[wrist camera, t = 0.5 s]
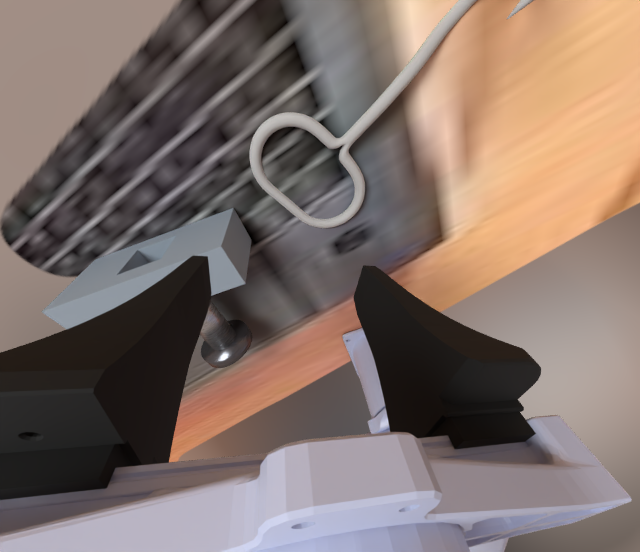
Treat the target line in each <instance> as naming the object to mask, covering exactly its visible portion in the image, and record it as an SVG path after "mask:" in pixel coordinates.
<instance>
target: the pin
mask: <svg viewBox="0 0 640 552" xmlns="http://www.w3.org/2000/svg"><path fill="white" fill-rule="evenodd" d="M200 336H201V337H202V338H203V339H204V340H205V341H204V342H203V345H202V348H201V355H202V357H203V359H204V360H205V361H206V362H208V363H209V364H210V365H211V366H212V367H215V368H223V367H227V366H229V365H231V364H233V363H235V362H236V361H238V360H239V359H240V358H241V357H242V356H243V355H244V354H245V353H246V352H247V350H248V349H249V347H250V345H251V342H252V333H251V331H250V329H249V328H248V327H247V325H246V324H245V323H244V322H243V321H240V320H231V321H227V320H226V319H225V318H224V317H223V315H222V314H221V313H220V312H219V310H218V309H217V308H216V307H215V305H214V304H213V303H212V302H211V301H210V304H209V308H208V312H207V315H206V318H205V321H204V324H203V327H202V329H201V332H200Z"/></svg>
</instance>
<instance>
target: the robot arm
mask: <svg viewBox="0 0 640 552" xmlns="http://www.w3.org/2000/svg"><path fill="white" fill-rule="evenodd" d="M211 293H212V292H211V282H210V272H209V263H208V256H194V255H193V256H191V257H190V258H189V259H187V260H186V261H185V262H184V263H182V264H181V265H180V266H178V267H177V268H176V269H175V270H173V271H172V272H171V273H169V274H168V275H167V276H165V277H164V278H163V279H161V280H160V281H158V282H157V283H155V284H154V285H152V286H151V287H149V288H148V289H146V290H145V291H143V292H142V293H140V294H139V295H137V296H135V297H134V298H132V299H130V300H128V301H126V302H125V303H123V304H121V305H119V306H117V307H115V308H113V309H111V310H109V311H107V312H105V313H103V314H101V315H99V316H97V317H94V318H92V319H90V320H88V321H86V322H84V323H81V324H79V325H76V326H74V327H72V328H69V329H67V330H64V331H62V332H59V333H57V334H54V335H51V336H49V337H46V338H43V339H41V340H37V341H35V342H32V343H29V344H26V345H23V346H20V347H17V348H14V349H11V350H8V351H5V352H1V353H0V552H504V551H505V547H506V544H507V541H508V538H509V537H513V536H517V535H521V534H526V533H530V532H535V531H539V530H543V529H548V528H552V527H557V526H562V525H566V524H571V523H574V522H576V521H580V520H582V519H584V518H587V517H590V516H593V515H596V514H598V513H601V512H604V511H606V510H609V509H612V508H614V507H617V506H620V505H623V504H625V503H628V502H630V501H631V497H630V496H629V495H628V494H627V492H626V491H625V490H624V489H623V488H622V487H621V486H620V484H619V483H618V482H617V481H616V480H615V479H614V478H613V476H612V475H611V474H610V473H609V472H608V471H607V470H606V468H605V467H604V466H603V465H602V464H601V463H600V462H599V460H598V459H597V458H596V457H595V456H594V455H593V454H592V453H591V451H590V450H589V449H588V448H587V447H586V446H585V444H584V443H583V442H582V441H581V440H580V439H579V438H578V437H577V436H576V434H575V433H574V432H573V431H572V430H571V428H570V427H569V426H568V425H567V424H566V423H565V422H564V421H563V419H562V418H561V417H560V416H558V415H550V416H539V417H533V418H530V419H527V420H525V418H524V417H523V416H522V415H521V413H520V412H521V411H523V410H524V408H523V406H522V405H521V403H520V402H519V401H518V398H520V397H521V396H522V395H523V394H524V393H525V392H526V391H527V390H528V389H529V388H531V386H533V385H534V384H535V383H536V381H537V380H538V378H539V376H540V374H541V368H540V366H539V365H538V364H537V363H536V362H535V361H534V359H533V358H532V357H531V356H530V355H529V354H528V353H527V352H526V351H525V350H523V349H522V348H519V347H516V346H514V345H511V344H508V343H505V342H503V341H499V340H497V339H494V338H492V337H489V336H487V335H484V334H482V333H480V332H477V331H475V330H473V329H471V328H469V327H466V326H464V325H462V324H460V323H458V322H456V321H454V320H452V319H450V318H449V317H447V316H445V315H443V314H441V313H440V312H438V311H436V310H435V309H433V308H431V307H430V306H428V305H427V304H425V303H424V302H422V301H421V300H419V299H418V298H416V297H415V296H414V295H412V294H411V293H410V292H408V291H407V290H406V289H404V288H403V287H402V286H400V285H399V284H398V283H397V282H395V281H394V280H393V279H391V278H390V277H389V276H388V275H386V274H385V273H384V272H383V271H381V270H380V269H378V268H377V267H375V266H363V268H362V272H361V275H360V278H359V281H358V285H357V288H356V291H355V295H354V301H355V306H356V311H357V315H358V318H359V320H360V323H361V326H362V328H361V329H358V330H355V331H352V332H349V333H346V334H344V335H343V336H342V337H343V340H344V343H345V345H346V348H347V350H348V352H349V355H350V357H351V360H352V362H353V365H354V367H355V369H356V372H357V374H358V376H359V377H360V380H361V384H362V387H363V390H364V393H365V396H366V400H367V403H368V407H369V410H370V413H371V417H372V419H371V420H369V421H368V424H369V428H370V432H369V433H367V434H364V435H353V436H341V437H331V438H319V439H308V440H302V441H298V442H292V443H288V444H285V445H283V446H281V447H279V448H277V449H275V450H272V451H271V452H270V453H263V454H252V455H242V456H232V457H221V458H212V459H201V460H191V461H181V462H170V463H169V457H170V452H171V446H172V441H173V436H174V431H175V426H176V421H177V416H178V411H179V407H180V402H181V398H182V393H183V389H184V384H185V380H186V376H187V372H188V368H189V364H190V361H191V357H192V354H193V351H194V349H195V346H196V343H197V340H198V338H199V335H200V332H201V329H202V327H203V324H204V321H205V318H206V315H207V312H208V308H209V304H210V298H211Z"/></svg>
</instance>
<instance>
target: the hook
mask: <svg viewBox="0 0 640 552" xmlns="http://www.w3.org/2000/svg"><path fill="white" fill-rule="evenodd" d="M476 1H477V0H459V1H458V2H457V3H456V4H455V5H454V6H453V7H452V8H451V10H450V11H449V12H448V13H447V14H446V15H445V16H444V17H443V18H442V19H441V21H440V22H439V23H438V24H437V26H436V27H435V28H434V29H433V31H432V32H431V33H430V35H429V36H428V37H427V39H426V40H425V42H424V43H423V44H422V46H421V47H420V49H419V50H418V51H417V53H416V54H415V55H414V57H413V58H412V59H411V61H410V62H409V63H408V64H407V66H406V67H405V68H404V69H403V70H402V72H401V73H400V74H399V75H398V76H397V77H396V79H395V80H394V81H393V82H392V83H391V84H390V86H389V87H388V88H387V89H386V90H385V91H384V92H383V94H382V95H381V96H380V97H379V98H378V99H377V100H376V101H375V102H374V104H373V105H372V106H371V107H370V108H369V109H368V110H367V111H366V112H365V113H364V114H363V115H362V116H361V118H360V119H359V120H358V121H357V122H356V123H355V124H354V125H353V126H352V127H351V128H350V129H349V130H348V131H347V132H346V133H345V134H344V135H343V136H342V137H341V138H335V137H334V136H333V135H332V134H331V133H330V132H329V131H328V130H327V129H326V128H325V127H324V126H322V125H321V124H320V123H319V122H317V121H316V120H314V119H313V118H311V117H309V116H307V115H304V114H300V113H295V112H286V113H281V114H277V115H275V116H273V117H270V118H269V119H268V120H266V121H265V122H264V123H263V124H262V125H261V126H260V127H259V128H258V129H257V131H256V133H255V134H254V136H253V139H252V142H251V146H250V164H251V169H252V172H253V174H254V177H255V178H256V180H257V182H258V183H259V184H260V186H261V187H262V188H263V189H264V190H265V191H266V192H267V193H268V194H269V195H271V196H272V197H273V198H274V199H275V200H277V201H278V202H279V203H280V204H281V205H283V206H284V207H285V208H286V209H288V210H289V211H290V212H291V213H292V214H294V215H295V216H296V217H297V218H298V219H300V220H301V221H303V222H304V223H306V224H308V225H310V226H313V227H317V228H331V227H336V226H339V225H341V224H343V223H345V222H347V221H348V220H350V219H351V218H352V217H353V216H354V215H355V214H356V213H357V211H358V210H359V209H360V207H361V205H362V203H363V199H364V195H365V181H364V177H363V175H362V172H361V170H360V169H359V167H358V165H357V164H356V162H355V161H354V160H353V158H352V157H351V156H350V154H349V148H350V146H351V145H352V144H353V143H354V142H355V141H356V140H357V139H358V138H359V137H360V136H361V135H362V134H363V133H364V132H365V131H366V130H367V129H368V128H369V127H370V125H371V124H372V123H373V122H374V121H375V120H376V119H377V118H378V117H379V116H380V115H381V114H382V113H383V112H384V111H385V110H386V109H387V108H388V107H389V105H390V104H391V103H392V102H393V101H394V100H395V99H396V98H397V97H398V95H399V94H400V93H401V92H402V91H403V90H404V89H405V88H406V86H407V85H408V84H409V83H410V82H411V81H412V80H413V78H414V77H415V76H416V75H417V74H418V72H419V71H420V70H421V69H422V67H423V66H424V65H425V63H426V62H427V61H428V59H429V58H430V57H431V55H432V54H433V52H434V51H435V50H436V48H437V47H438V45H439V44H440V43H441V41H442V40H443V39H444V37H445V36H446V35H447V34H448V32H449V31H450V30H451V29H452V27H453V26H454V25H455V24H456V23H457V22H458V20H459V19H460V18H461V17H462V16H463V15H464V14H465V13H466V12H467V10H468V9H469V8H470V7H471V6H472V5H473V4H474V3H475V2H476ZM532 1H534V0H520V2H519V3H518V4H517V6H516V7H515V8H514V10H513V11H512V12H511V14H510V15H509V16H508V18H510V17H511V16H513V15H514V14H516V13H517V12H518V11H520V10H521V9H523V8H524V7H525V6H527V5H528V4H530V3H531V2H532ZM508 18H507V19H508ZM284 127H299V128H302V129H305V130H307V131H308V132H310V133H312V134H313V135H314V136H316V137H317V138H318V139H319V140H320V141H321V142H322V143H323V144H324V145H325V146H327V147H328V148H329V149H336V148H339V147H340V146H342V145H343V146H342V148H341V150H340V154H339V160H340V162H341V163H342V164H343V166H344V167H345V168H346V170H347V171H348V172H349V174H350V176H351V177H352V179H353V182H354V186H355V194H354V198H353V201H352V203H351V204H350V206H349V207H348V208H347V209H346V210H345V211H344V212H343V213H342V214H340V215H338V216H336V217H333V218H330V219H317V218H313V217H311V216H309V215H308V214H306V213H305V212H304V211H303V210H301V209H300V208H299V207H298V206H297V205H296V204H294V203H293V202H292V201H291V200H290V199H288V198H287V197H286V196H285V195H284V194H283V193H281V192H280V191H279V190H278V189H277V188H276V187H274V186H273V185H272V184H271V183H270V182H269V180H268V179H267V177H266V175H265V173H264V171H263V167H262V162H261V154H262V149H263V146H264V144H265V142H266V140H267V139H268V137H269V136H270V135H271V134H272V133H274V132H275V131H277V130H279V129H281V128H284Z"/></svg>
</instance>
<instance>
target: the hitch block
mask: <svg viewBox="0 0 640 552" xmlns="http://www.w3.org/2000/svg"><path fill="white" fill-rule="evenodd" d="M250 248H251V238H250V236H249V235H248V233H247V231H246V229H245V227H244V226H243V224H242V222H241V220H240V218H239V217H238V215H237V213H236V211H235V209H234V208H232V209H229V210H227V211H224V212H221V213H219V214H216V215H213V216H211V217H208V218H205V219H203V220H200V221H197V222H194V223H192V224H189V225H186V226H184V227H181V228H178V229H176V230H173V231H170V232H168V233H165V234H162V235H160V236H157V237H154V238H152V239H149V240H146V241H144V242H141V243H138V244H136V245H133V246H130V247H128V248H125V249H122V250H120V251H117V252H114V253H112V254H109V255H106V256H103V257H101V258H98V259H96V260H94V261H93V262H92V263H91V264H90V265H89V266H88V267H87V268H86V269H85V270H84V271H83V272H82V273H81V274H80V275H79V276H78V277H77V278H76V279H75V280H74V281H73V282H72V283H71V284H70V285H69V286H68V287H67V288H66V289H65V290H64V291H63V292H61V293H60V294H59V295H58V297H56V298H55V299H54V300H53V301H52V302H51V303H50V304H49V305H48V306H47V307H46V308H45V309H44V310H43V311H42V312H43V313H44V314H45V315H47V316H48V317H50V318H51V319H53V320H54V321H56V322H57V323H58V324H60V325H61V326H63V327H64V328H66V329H69V328H72V327H74V326H76V325H79V324H81V323H84V322H86V321H88V320H90V319H92V318H94V317H97V316H99V315H101V314H103V313H105V312H107V311H109V310H111V309H113V308H115V307H117V306H119V305H121V304H123V303H125V302H126V301H128V300H130V299H132V298H134V297H135V296H137V295H139V294H140V293H142V292H143V291H145V290H146V289H148V288H149V287H151V286H152V285H154V284H155V283H157V282H158V281H160V280H161V279H163V278H164V277H165V276H167V275H168V274H169V273H171V272H172V271H173V270H175V269H176V268H177V267H178V266H180V265H181V264H182V263H184V262H185V261H186V260H187V259H189V258H190V257H191V256H193V255H194V256H208V263H209V272H210V282H211V292H212V293H211V296H212V295H215V294H218V293H221V292H223V291H226V290H229V289H232V288H235V287H238V286H241V285H243V284H246V277H247V269H248V262H249V255H250Z"/></svg>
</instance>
